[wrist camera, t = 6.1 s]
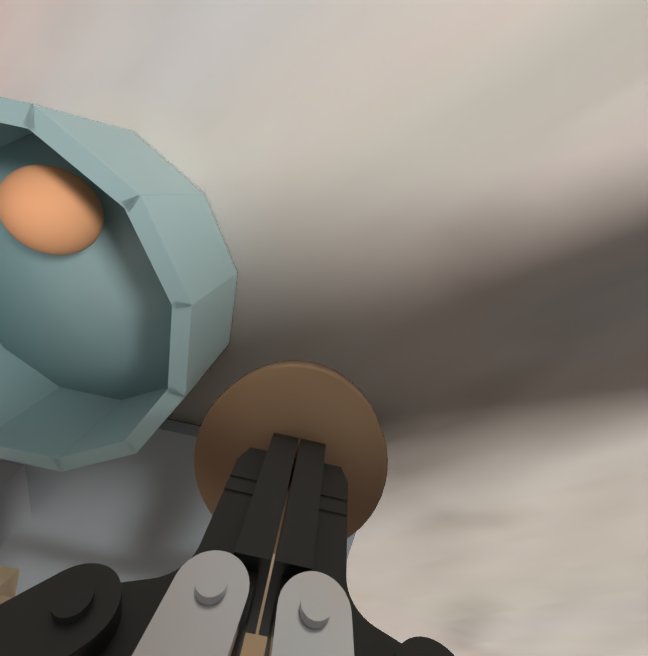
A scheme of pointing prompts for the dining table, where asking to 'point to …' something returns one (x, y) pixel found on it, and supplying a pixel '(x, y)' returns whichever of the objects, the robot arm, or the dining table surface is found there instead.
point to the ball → (50, 209)
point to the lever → (293, 420)
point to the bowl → (106, 298)
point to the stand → (106, 512)
